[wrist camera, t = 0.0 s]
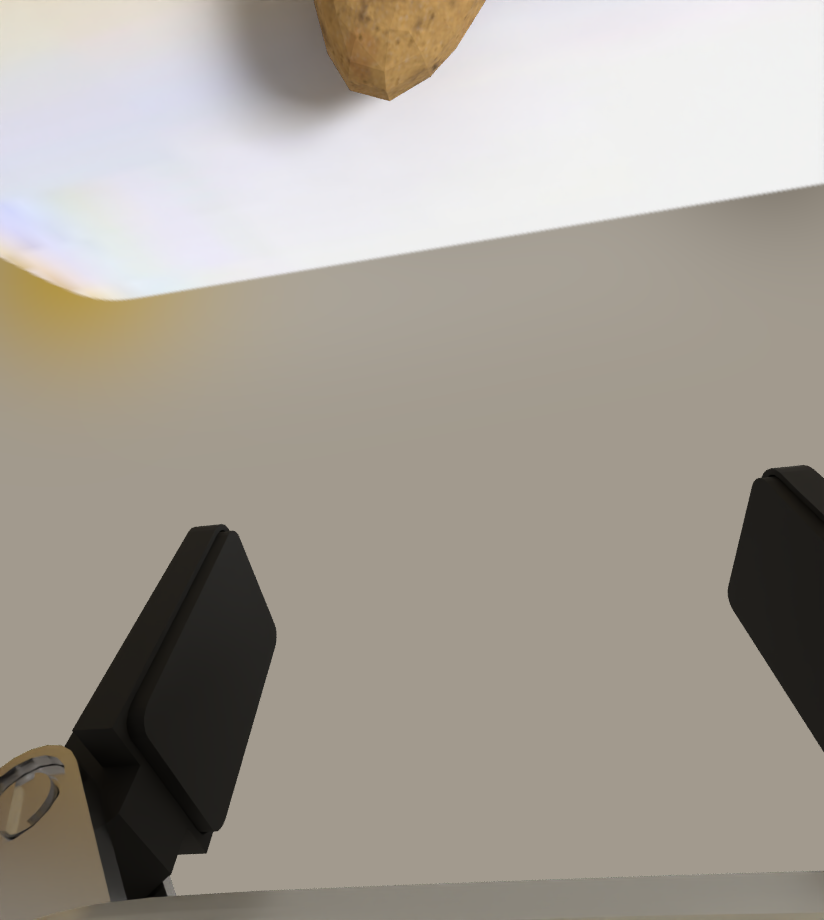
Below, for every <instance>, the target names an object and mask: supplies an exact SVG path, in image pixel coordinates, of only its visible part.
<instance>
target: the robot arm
mask: <svg viewBox="0 0 824 920" xmlns="http://www.w3.org/2000/svg"><path fill="white" fill-rule="evenodd" d="M728 598H729V602H730V605H731V607H732V609H733V611H734V612H735V614H736V615H737V617H738V618H739V620H740V622H741V623H742V625H743V626H744V628H745V629H746V631H747V633H748V634H749V636H750V637H751V639H752V640H753V642H754V644H755V645H756V647H757V648H758V650H759V651H760V653H761V655H762V656H763V658H764V659H765V661H766V662H767V664H768V666H769V667H770V668H771V670H772V672H773V673H774V675H775V676H776V678H777V679H778V681H779V682H780V684H781V686H782V687H783V689H784V691H785V692H786V694H787V695H788V697H789V698H790V700H791V701H792V703H793V704H794V706H795V708H796V709H797V711H798V712H799V714H800V716H801V717H802V719H803V720H804V722H805V723H806V725H807V727H808V728H809V730H810V731H811V732H812V734H813V736H814V737H815V739H816V741H817V742H818V744H819V745H820V747H821V748H822V750H823V752H824V478H823V477H822V476H821V475H820V474H818V473H817V472H816V471H815V470H814V469H812V468H811V467H809V466H805V465H800V466H791V467H781V468H771V469H769V470H766V471H765V472H764V473H763V476H762V478H758V479H756V480H755V481H754V483H753V485H752V489H751V493H750V497H749V502H748V506H747V510H746V514H745V518H744V523H743V527H742V531H741V535H740V539H739V544H738V548H737V553H736V556H735V561H734V565H733V569H732V573H731V577H730V582H729V586H728ZM275 645H276V627H275V624H274V622H273V619H272V617H271V614H270V612H269V609H268V607H267V604H266V602H265V599H264V597H263V595H262V592H261V590H260V587H259V585H258V582H257V580H256V577H255V575H254V573H253V570H252V567H251V565H250V562H249V560H248V558H247V555H246V553H245V550H244V548H243V545H242V543H241V540H240V538H239V536H238V534H237V533H236V532H235V531H229V529H228V528H227V527H226V526H225V525H223V524H220V525H210V526H199V527H194V528H191V530H190V531H189V532H188V534H187V535H186V537H185V539H184V541H183V542H182V544H181V546H180V547H179V549H178V551H177V552H176V554H175V556H174V558H173V559H172V561H171V563H170V564H169V566H168V568H167V569H166V571H165V573H164V575H163V576H162V578H161V580H160V581H159V583H158V585H157V587H156V588H155V590H154V592H153V593H152V595H151V597H150V598H149V600H148V602H147V604H146V605H145V607H144V609H143V611H142V612H141V614H140V616H139V617H138V619H137V621H136V622H135V624H134V626H133V628H132V629H131V631H130V633H129V634H128V636H127V638H126V639H125V641H124V643H123V645H122V646H121V648H120V650H119V652H118V653H117V655H116V657H115V658H114V660H113V662H112V664H111V665H110V667H109V669H108V670H107V672H106V674H105V675H104V677H103V679H102V680H101V682H100V684H99V686H98V687H97V689H96V691H95V692H94V694H93V696H92V698H91V699H90V701H89V703H88V704H87V706H86V708H85V710H84V711H83V713H82V715H81V716H80V718H79V720H78V722H77V723H76V725H75V727H74V728H73V730H72V731H73V733H72V735H71V736H70V738H69V740H68V742H67V743H66V745H65V747H63V746H61V745H46V746H42V747H38V748H35V749H31V750H29V751H27V752H25V753H23V754H21V755H19V756H17V757H15V758H13V759H12V760H11V761H9V762H8V763H7V764H5V765H4V766H2V767H1V768H0V920H824V871H801V872H770V873H769V872H768V873H736V874H735V873H734V874H703V875H668V876H640V877H613V878H612V877H611V878H583V879H553V880H526V881H498V882H471V883H443V884H419V885H418V884H417V885H394V886H370V887H369V886H368V887H344V888H320V889H295V890H270V891H251V892H234V893H220V894H219V893H218V894H201V895H185V896H176V893H175V890H174V887H173V884H172V881H171V878H170V875H171V873H172V870H173V867H174V864H175V861H176V858H177V855H181V854H203V853H207V850H208V847H209V843H210V840H211V837H212V833H213V832H214V831H218V830H219V829H220V828H221V827H222V825H223V823H224V821H225V818H226V815H227V812H228V808H229V805H230V801H231V798H232V794H233V791H234V787H235V784H236V780H237V776H238V774H239V770H240V767H241V763H242V760H243V756H244V753H245V749H246V746H247V742H248V739H249V735H250V732H251V728H252V725H253V722H254V718H255V714H256V711H257V708H258V704H259V701H260V697H261V694H262V690H263V687H264V683H265V680H266V677H267V673H268V670H269V666H270V663H271V659H272V656H273V652H274V649H275Z"/></svg>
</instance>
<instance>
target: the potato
mask: <svg viewBox="0 0 824 920" xmlns="http://www.w3.org/2000/svg"><path fill="white" fill-rule="evenodd" d="M484 2H485V0H314V4H315V8H316V11H317V15H318V19H319V23H320V26H321V30H322V34H323V38H324V41H325V45H326V49H327V53H328V55H329V56H330V58H331V60H332V61H333V63H334V65H335V66H336V68H337V70H338V71H339V73H340V75H341V76H342V78H343V80H344V81H345V83H346V85H347V86H348V88H349V89H350V90H351V91H355V92H358V93H362V94H366V95H369V96H373V97H377V98H381V99H384V100H388V101H390V100H392V99H394V98H395V97H397V96H399V95H400V94H402V93H404V92H406V91H407V90H409V89H411V88H412V87H414V86H416V85H417V84H419V83H421V82H422V81H424V80H426V79H427V78H429V77H431V75H432V74H433V73H434V72H435V71H436V70H437V68H438V67H439V66H440V65H441V64H442V63H443V62H444V61H445V60H446V59H447V58H448V57H449V56H450V54H451V53H452V52H453V51H454V50H455V49H456V47H457V46H458V44H459V43H460V41H461V39H462V38H463V36H464V35H465V33H466V31H467V30H468V28H469V27H470V25H471V23H472V22H473V20H474V18H475V17H476V15H477V14H478V12H479V10H480V9H481V7H482V6H483V4H484Z"/></svg>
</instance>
